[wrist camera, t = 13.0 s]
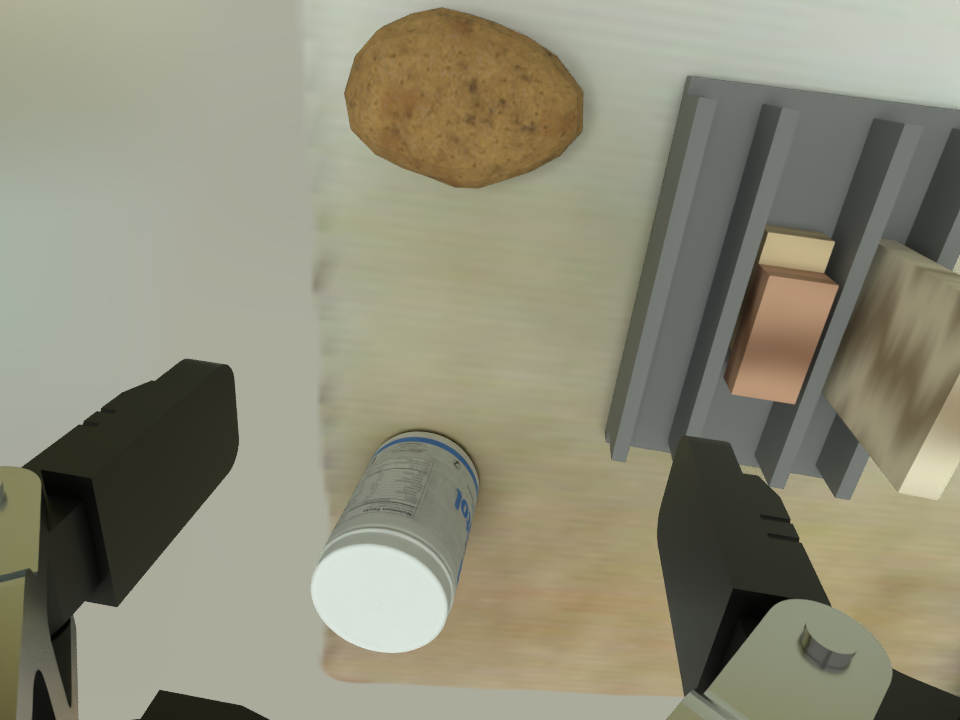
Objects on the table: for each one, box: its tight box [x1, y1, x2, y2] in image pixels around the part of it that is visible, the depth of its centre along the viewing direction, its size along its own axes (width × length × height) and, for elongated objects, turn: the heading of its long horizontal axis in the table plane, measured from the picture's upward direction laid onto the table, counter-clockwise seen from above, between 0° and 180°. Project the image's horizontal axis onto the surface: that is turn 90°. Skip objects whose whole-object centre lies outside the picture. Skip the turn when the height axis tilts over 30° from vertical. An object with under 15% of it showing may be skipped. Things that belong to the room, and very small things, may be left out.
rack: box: [605, 76, 960, 500], centre depth 42 cm, size 26×16×6 cm, turn 173°
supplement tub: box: [311, 432, 479, 653], centre depth 48 cm, size 10×10×15 cm
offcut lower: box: [729, 224, 835, 351], centre depth 42 cm, size 8×4×2 cm, turn 173°
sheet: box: [821, 238, 960, 500], centre depth 37 cm, size 10×2×14 cm, turn 172°
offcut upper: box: [723, 264, 839, 404], centre depth 41 cm, size 8×4×2 cm, turn 173°
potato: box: [344, 8, 583, 188], centre depth 39 cm, size 10×14×8 cm
